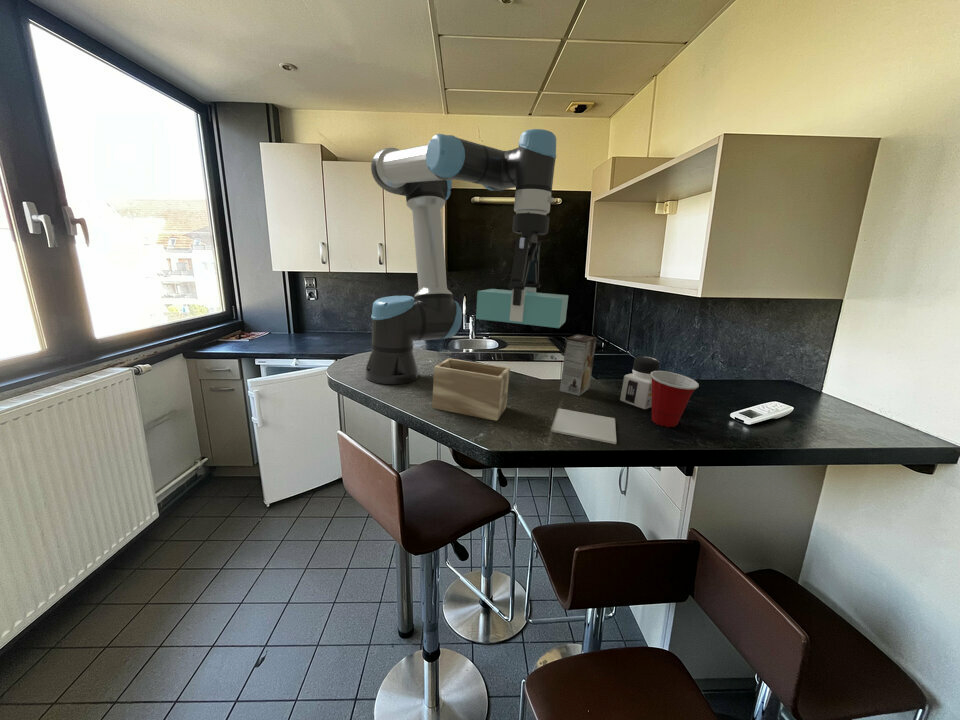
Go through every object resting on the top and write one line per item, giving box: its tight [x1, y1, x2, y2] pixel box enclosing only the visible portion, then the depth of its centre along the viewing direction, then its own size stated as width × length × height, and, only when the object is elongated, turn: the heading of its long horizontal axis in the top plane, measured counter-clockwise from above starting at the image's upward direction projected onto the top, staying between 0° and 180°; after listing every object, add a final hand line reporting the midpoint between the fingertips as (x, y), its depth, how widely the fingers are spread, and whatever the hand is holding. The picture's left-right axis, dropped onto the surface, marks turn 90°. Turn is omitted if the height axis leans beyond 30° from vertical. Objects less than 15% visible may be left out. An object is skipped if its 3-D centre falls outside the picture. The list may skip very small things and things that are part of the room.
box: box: [431, 357, 511, 422], centre depth 95 cm, size 9×16×11 cm, turn 73°
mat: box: [549, 407, 617, 445], centre depth 93 cm, size 14×22×1 cm, turn 73°
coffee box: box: [559, 334, 598, 397], centre depth 116 cm, size 9×6×16 cm
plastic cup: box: [650, 370, 700, 428], centre depth 96 cm, size 11×11×12 cm
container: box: [619, 356, 661, 410], centre depth 109 cm, size 8×8×13 cm
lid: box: [475, 288, 569, 329], centre depth 88 cm, size 11×18×6 cm, turn 71°
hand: (522, 318), depth 88 cm, fingers closed on lid, 11 cm apart
